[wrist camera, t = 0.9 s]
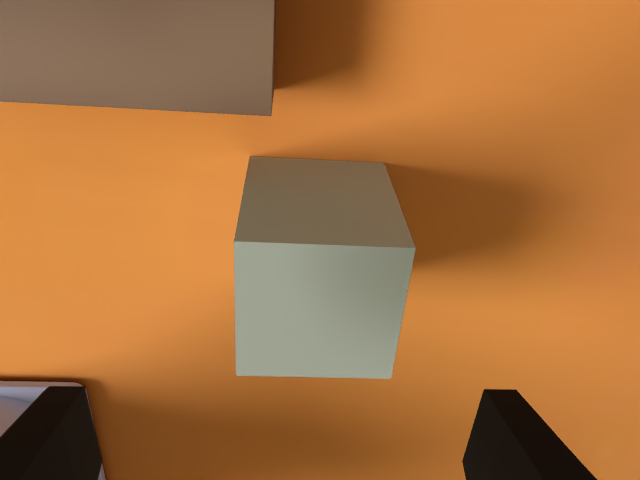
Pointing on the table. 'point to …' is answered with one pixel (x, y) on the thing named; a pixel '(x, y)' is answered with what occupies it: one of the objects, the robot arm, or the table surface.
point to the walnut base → (140, 54)
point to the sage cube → (319, 269)
